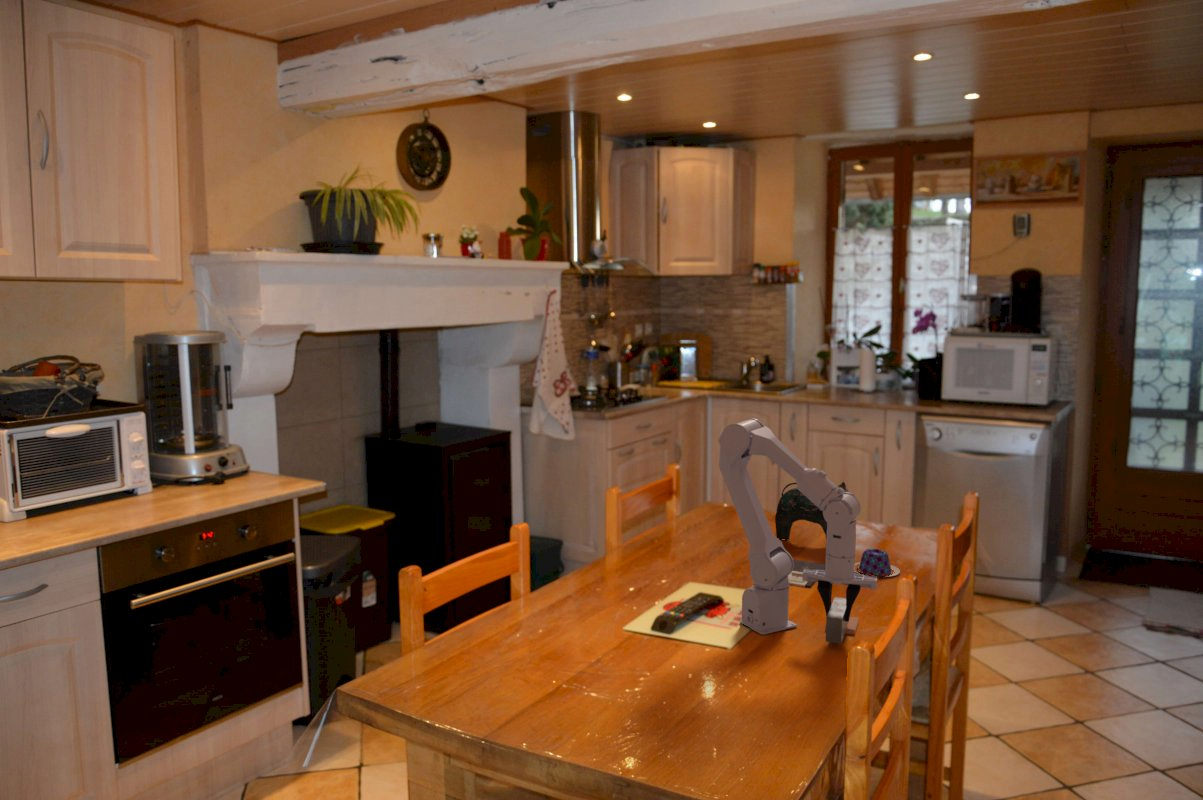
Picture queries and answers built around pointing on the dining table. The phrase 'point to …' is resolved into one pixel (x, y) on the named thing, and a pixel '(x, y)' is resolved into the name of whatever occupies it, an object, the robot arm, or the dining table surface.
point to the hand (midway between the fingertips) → (838, 618)
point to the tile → (851, 626)
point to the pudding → (876, 563)
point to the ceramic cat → (797, 511)
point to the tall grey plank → (836, 621)
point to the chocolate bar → (798, 569)
